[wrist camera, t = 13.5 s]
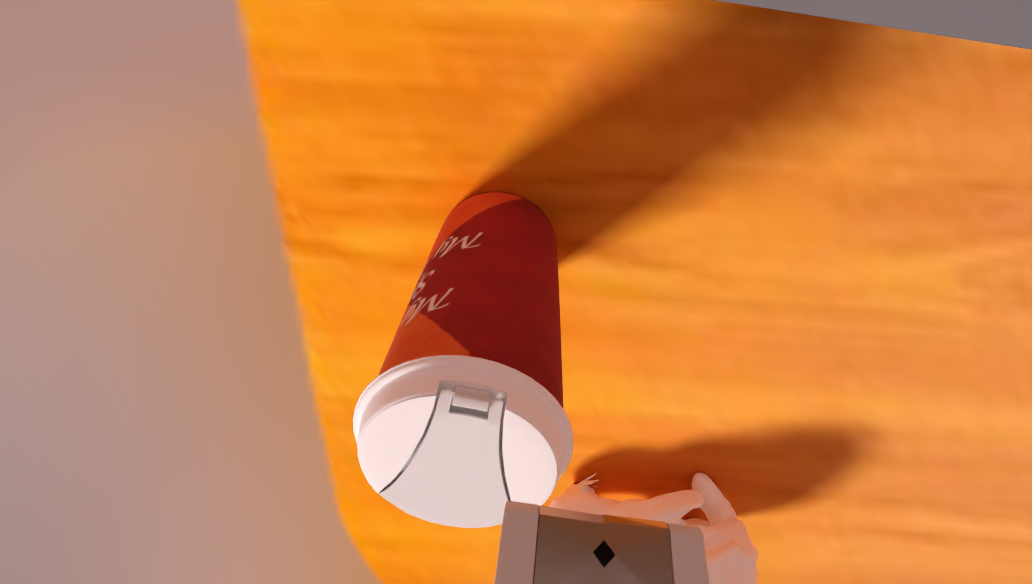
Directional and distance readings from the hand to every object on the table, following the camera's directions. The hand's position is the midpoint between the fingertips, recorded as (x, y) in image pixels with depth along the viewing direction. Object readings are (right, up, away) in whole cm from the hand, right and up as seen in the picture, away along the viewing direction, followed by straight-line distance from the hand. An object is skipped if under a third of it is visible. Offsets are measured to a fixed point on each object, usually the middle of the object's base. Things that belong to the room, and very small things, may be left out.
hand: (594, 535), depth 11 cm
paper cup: (-2, +6, +25) cm, 26 cm away
